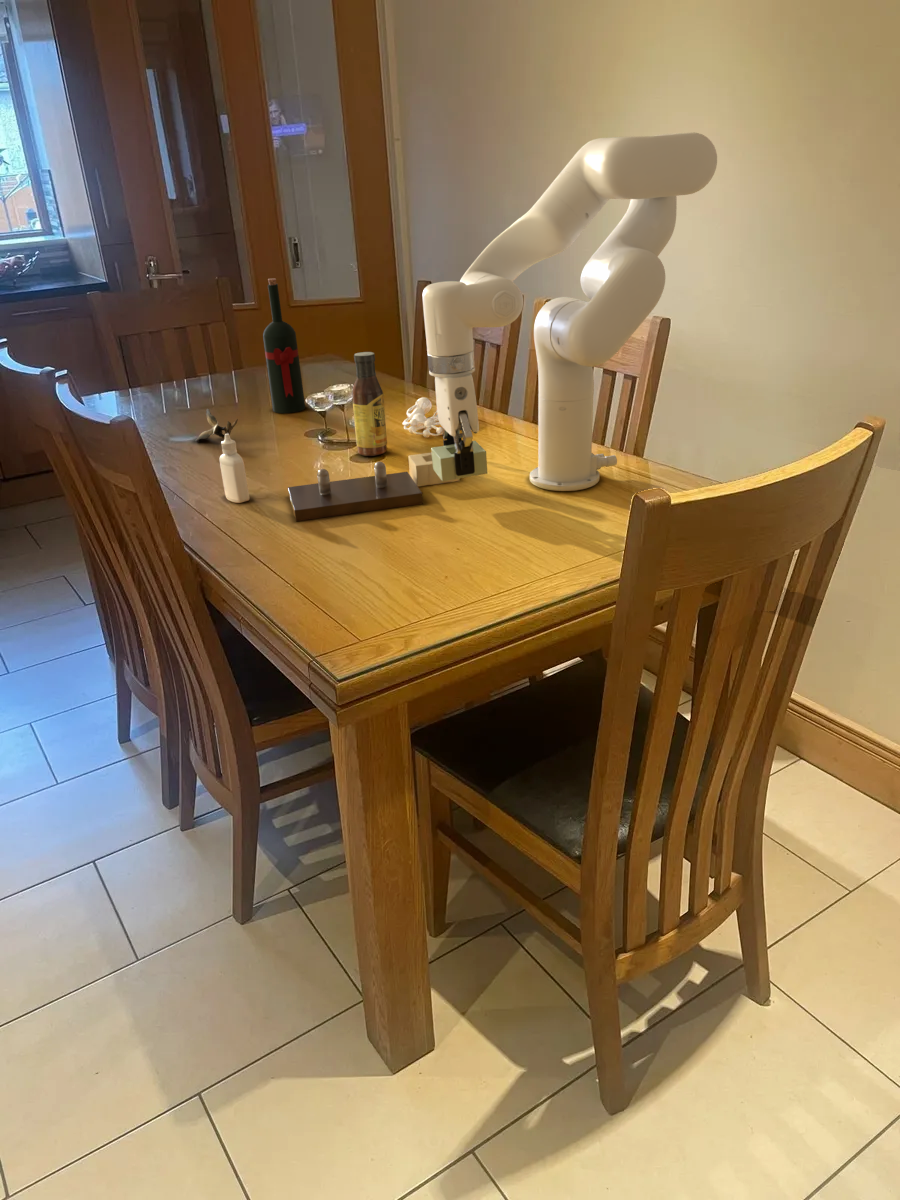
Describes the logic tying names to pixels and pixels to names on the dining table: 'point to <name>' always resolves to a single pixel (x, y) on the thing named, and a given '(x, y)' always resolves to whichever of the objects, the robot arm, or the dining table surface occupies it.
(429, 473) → the beige block with hole
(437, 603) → the dining table surface
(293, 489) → the peg board base
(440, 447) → the green block with hole
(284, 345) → the wine bottle
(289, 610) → the dining table surface
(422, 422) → the tangled rod sculpture
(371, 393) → the sauce bottle
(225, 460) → the eye dropper bottle
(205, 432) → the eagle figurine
